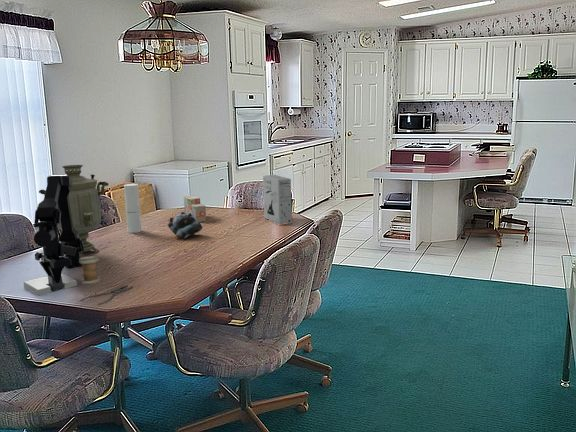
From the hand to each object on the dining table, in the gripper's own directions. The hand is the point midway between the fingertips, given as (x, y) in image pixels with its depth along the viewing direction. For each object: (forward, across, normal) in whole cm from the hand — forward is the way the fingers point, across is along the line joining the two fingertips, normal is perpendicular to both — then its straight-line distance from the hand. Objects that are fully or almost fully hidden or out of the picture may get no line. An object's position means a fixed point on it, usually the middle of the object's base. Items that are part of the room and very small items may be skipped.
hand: (55, 281), depth 208 cm
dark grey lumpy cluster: (+3, +34, -80) cm, 87 cm away
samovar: (+3, +42, -29) cm, 51 cm away
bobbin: (+3, -1, -13) cm, 13 cm away
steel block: (+3, 0, 0) cm, 3 cm away
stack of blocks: (+4, +69, -110) cm, 129 cm away
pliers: (+4, -20, -10) cm, 23 cm away
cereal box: (+3, +26, -136) cm, 138 cm away
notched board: (+3, +5, 0) cm, 6 cm away
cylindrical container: (+3, +66, -69) cm, 95 cm away
